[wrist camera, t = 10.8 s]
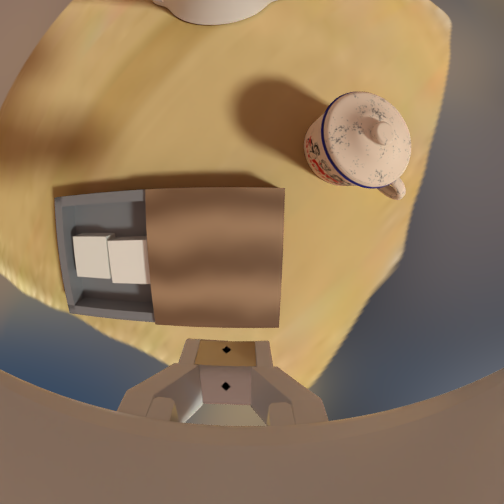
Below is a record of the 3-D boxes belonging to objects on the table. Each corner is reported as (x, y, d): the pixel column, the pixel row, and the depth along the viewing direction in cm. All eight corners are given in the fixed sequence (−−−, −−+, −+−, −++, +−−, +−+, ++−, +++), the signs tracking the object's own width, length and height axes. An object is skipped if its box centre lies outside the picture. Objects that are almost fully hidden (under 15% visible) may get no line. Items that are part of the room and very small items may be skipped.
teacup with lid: (284, 147, 29) (308, 123, 17) (335, 99, 28) (377, 62, 16) (354, 220, 31) (406, 238, 20) (398, 171, 30) (459, 169, 18)
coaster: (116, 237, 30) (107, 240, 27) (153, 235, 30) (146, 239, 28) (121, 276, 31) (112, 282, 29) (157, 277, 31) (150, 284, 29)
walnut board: (157, 189, 29) (145, 189, 26) (279, 188, 30) (284, 188, 26) (164, 309, 33) (155, 324, 29) (275, 312, 33) (278, 327, 29)
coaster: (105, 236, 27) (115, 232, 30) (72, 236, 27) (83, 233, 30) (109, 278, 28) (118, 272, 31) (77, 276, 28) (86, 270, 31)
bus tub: (69, 196, 29) (54, 197, 26) (157, 189, 29) (147, 189, 26) (82, 303, 32) (69, 313, 29) (164, 309, 33) (156, 322, 29)
